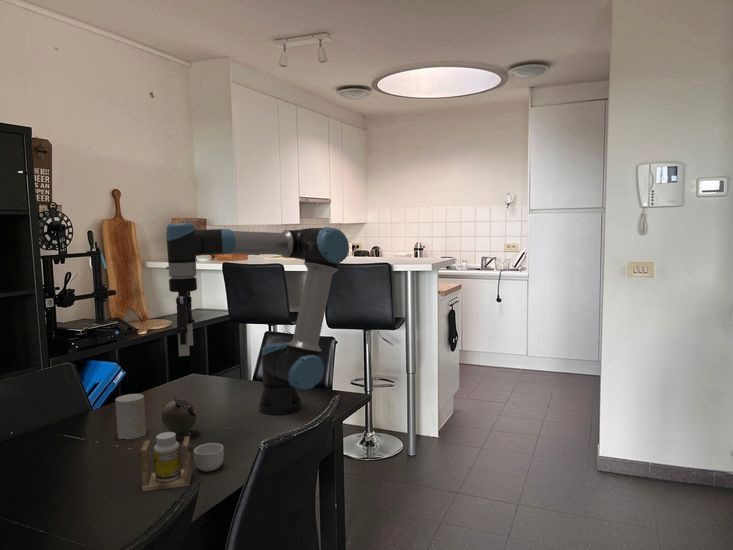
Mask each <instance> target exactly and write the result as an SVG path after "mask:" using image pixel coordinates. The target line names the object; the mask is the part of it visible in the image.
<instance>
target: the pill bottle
mask: <svg viewBox="0 0 733 550" xmlns="http://www.w3.org/2000/svg"><path fill="white" fill-rule="evenodd" d="M155 438H156V439H155V440H156V444H155V445H154V446H153V457H154V473H155V476H156V480H157V481H160V482H170V481H173V480H176V479H177V478H179V477H180V476H181V470H182V466H181V464H182V463H181V449H180V447H181V446H180V443H179V442H178V440H176V434H175V433H174V432H171V431H165V432H161V433H159V434H157V435H156V437H155Z"/></svg>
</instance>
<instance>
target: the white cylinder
mask: <svg viewBox="0 0 733 550" xmlns="http://www.w3.org/2000/svg"><path fill="white" fill-rule="evenodd" d="M145 410H146V409H145V396H144V394H141V393H128V394H124V395H119V396H118V397H116V398H115V415H116V417H115V418H116V430H117V432H116V433H117V439H118V438H119V439H118V440H120V439H133V440H135V439H134V438H138V439H140V438H142V437H141V436H143V437H145V436H146V434H147V428H146V425H147V424H146V412H145ZM139 437H140V438H139Z"/></svg>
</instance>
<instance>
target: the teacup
mask: <svg viewBox="0 0 733 550" xmlns="http://www.w3.org/2000/svg"><path fill="white" fill-rule="evenodd" d="M224 453H225V449H224V445H223V444H221V443H218V442H208V443H203V444H200V445H198V446H196V447H195V448H193V458H194V463H195V466H196V467H197V468H198V469H199V470H200V471H203V472H214V471H215V470H218V469H219V468H220V467H221V466H222V464H223V461H224V458H225V457H224V456H225V454H224Z"/></svg>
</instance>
